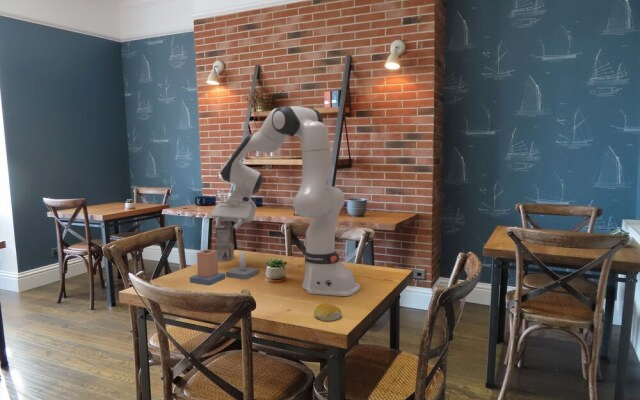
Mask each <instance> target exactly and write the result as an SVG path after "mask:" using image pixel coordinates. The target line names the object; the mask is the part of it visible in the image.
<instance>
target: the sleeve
mask: <svg viewBox="0 0 640 400" xmlns="http://www.w3.org/2000/svg"><path fill="white" fill-rule="evenodd" d="M196 254H197V255H196V261H197V262H196V264H197V274H198V276H199V277H205V278H210V277H213V276H215V275H217V274H218V273H219V272H218V261H217V250H213V249H203V250H200V251H197V252H196Z"/></svg>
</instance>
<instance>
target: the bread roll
mask: <svg viewBox="0 0 640 400" xmlns="http://www.w3.org/2000/svg"><path fill="white" fill-rule="evenodd" d="M313 311H314V312H313V316H314V317H315V319H319V320H320V321H322V320H323V321H322V322H333V320H334V321H337V320H339V319H340V318H341V317H342V311H341V309H340V308H339V307H337V306H336V305H332V304H331V303H328V302H327V303H326V302H325V303H319V304H318V305H317V306H316V307H315V308H314V310H313ZM336 319H337V320H336Z"/></svg>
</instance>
